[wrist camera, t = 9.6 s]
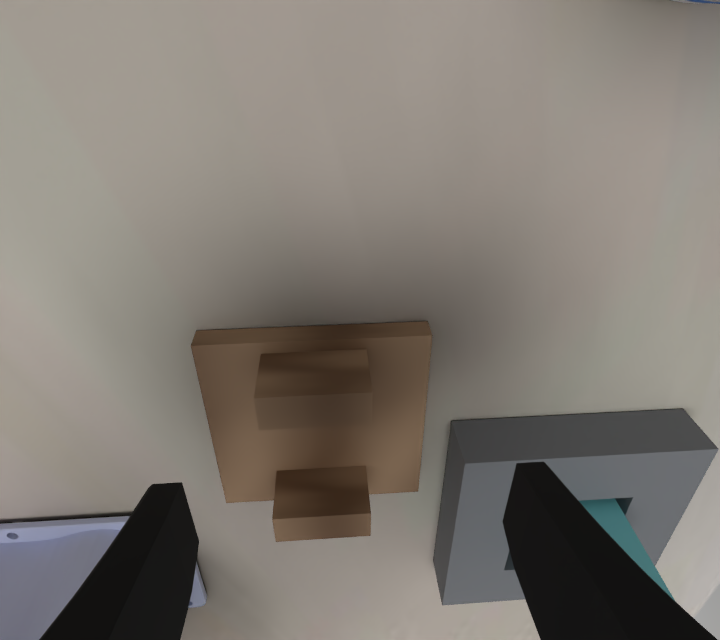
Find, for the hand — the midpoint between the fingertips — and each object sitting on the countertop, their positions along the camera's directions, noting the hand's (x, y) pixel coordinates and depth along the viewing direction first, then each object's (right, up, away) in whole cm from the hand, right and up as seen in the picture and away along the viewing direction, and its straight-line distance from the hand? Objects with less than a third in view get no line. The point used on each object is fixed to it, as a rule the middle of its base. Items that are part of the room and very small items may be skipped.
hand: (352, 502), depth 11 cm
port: (+10, -5, +15) cm, 19 cm away
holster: (-2, 0, +11) cm, 11 cm away
